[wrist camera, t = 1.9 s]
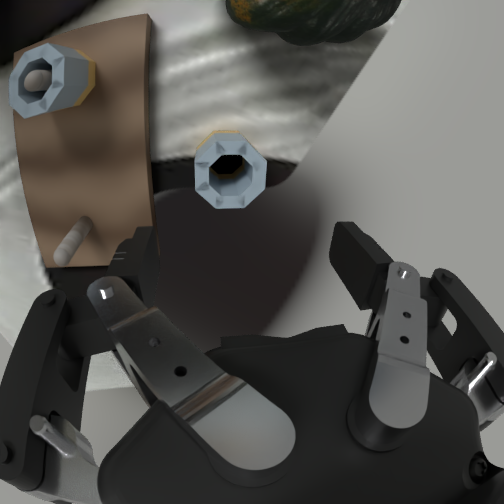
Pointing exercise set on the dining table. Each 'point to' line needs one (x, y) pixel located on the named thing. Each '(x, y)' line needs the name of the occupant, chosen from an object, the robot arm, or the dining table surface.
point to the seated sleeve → (63, 80)
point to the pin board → (91, 149)
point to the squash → (312, 18)
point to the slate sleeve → (229, 185)
